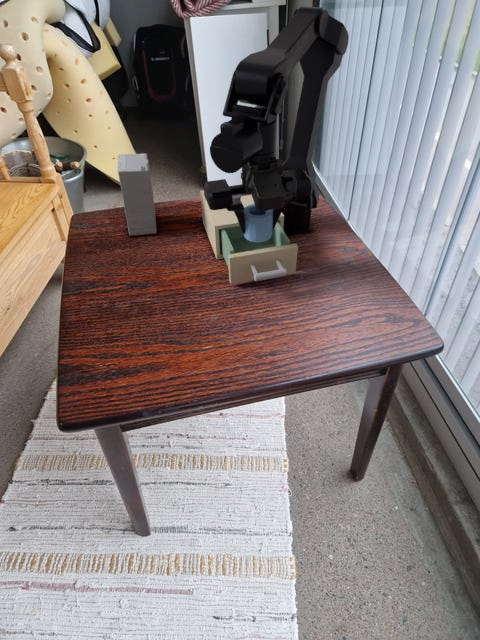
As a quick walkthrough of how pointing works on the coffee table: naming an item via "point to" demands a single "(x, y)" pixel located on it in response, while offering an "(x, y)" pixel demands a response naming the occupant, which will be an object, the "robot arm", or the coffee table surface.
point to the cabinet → (222, 221)
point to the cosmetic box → (137, 193)
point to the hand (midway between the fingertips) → (257, 230)
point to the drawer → (257, 255)
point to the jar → (257, 224)
